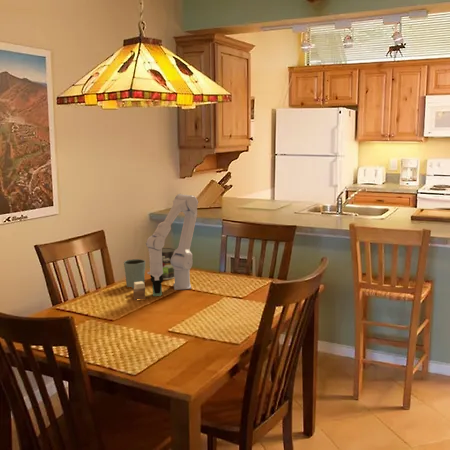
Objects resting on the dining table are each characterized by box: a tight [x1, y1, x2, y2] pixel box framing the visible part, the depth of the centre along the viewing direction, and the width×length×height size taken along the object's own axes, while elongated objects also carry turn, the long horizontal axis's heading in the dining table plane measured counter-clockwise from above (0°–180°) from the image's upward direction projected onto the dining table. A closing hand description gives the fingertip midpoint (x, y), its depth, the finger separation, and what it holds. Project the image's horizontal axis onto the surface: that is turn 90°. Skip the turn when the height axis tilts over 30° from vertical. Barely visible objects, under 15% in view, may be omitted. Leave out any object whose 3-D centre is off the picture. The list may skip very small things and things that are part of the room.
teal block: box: [152, 284, 163, 297], centre depth 250 cm, size 4×4×5 cm
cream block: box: [133, 281, 146, 289], centre depth 253 cm, size 4×4×5 cm
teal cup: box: [123, 258, 146, 289], centre depth 265 cm, size 10×10×12 cm
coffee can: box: [162, 247, 176, 281], centre depth 278 cm, size 10×10×14 cm
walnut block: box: [132, 287, 146, 301], centre depth 245 cm, size 5×5×4 cm
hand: (157, 291), depth 250 cm, fingers closed on teal block, 4 cm apart
